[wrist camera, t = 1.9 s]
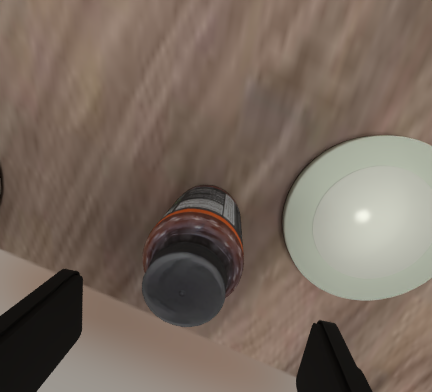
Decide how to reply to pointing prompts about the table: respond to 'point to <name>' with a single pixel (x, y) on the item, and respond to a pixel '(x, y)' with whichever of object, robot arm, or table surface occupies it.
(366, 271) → the dish
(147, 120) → the table surface
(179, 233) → the supplement bottle
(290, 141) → the table surface
